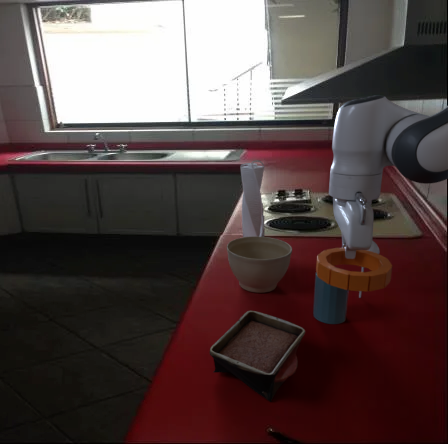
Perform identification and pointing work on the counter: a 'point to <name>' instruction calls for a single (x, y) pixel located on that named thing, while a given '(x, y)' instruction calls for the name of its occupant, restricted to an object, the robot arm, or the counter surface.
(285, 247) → the planter bowl
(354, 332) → the counter surface
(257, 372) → the baking dish
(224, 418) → the counter surface
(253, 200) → the skyscraper
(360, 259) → the ring
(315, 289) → the cup
